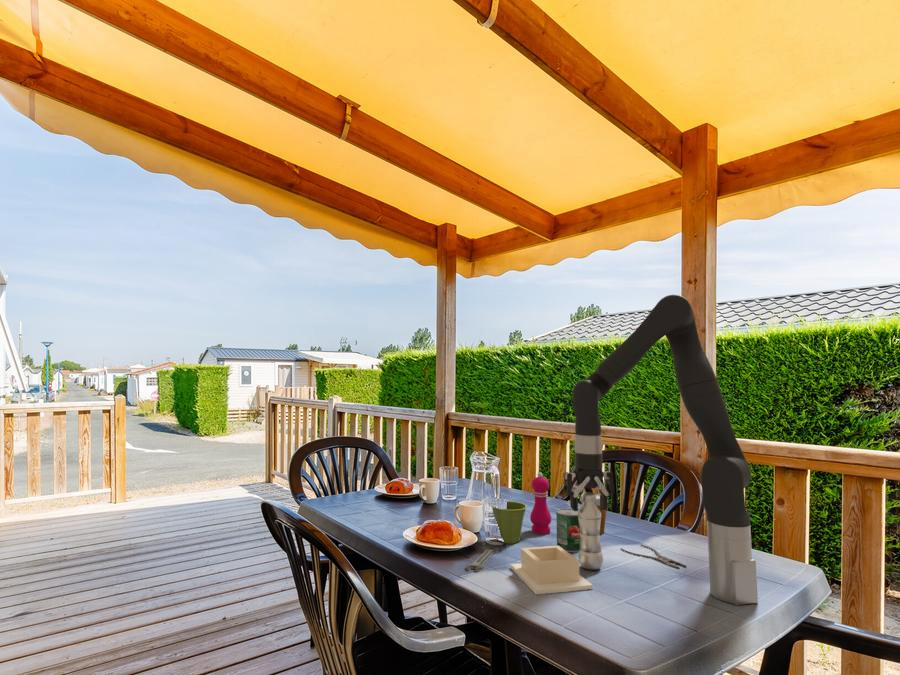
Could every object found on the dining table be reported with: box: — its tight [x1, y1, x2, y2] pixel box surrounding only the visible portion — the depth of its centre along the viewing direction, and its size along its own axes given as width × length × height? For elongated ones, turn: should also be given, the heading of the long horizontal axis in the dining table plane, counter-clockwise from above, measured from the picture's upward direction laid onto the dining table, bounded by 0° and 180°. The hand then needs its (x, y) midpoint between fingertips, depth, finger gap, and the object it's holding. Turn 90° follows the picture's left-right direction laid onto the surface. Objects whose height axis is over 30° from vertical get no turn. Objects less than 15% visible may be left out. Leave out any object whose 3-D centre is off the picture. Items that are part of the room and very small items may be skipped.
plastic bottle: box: [578, 492, 604, 571], centre depth 138 cm, size 6×7×20 cm
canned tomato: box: [555, 508, 580, 553], centre depth 154 cm, size 8×8×11 cm
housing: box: [510, 545, 593, 595], centre depth 130 cm, size 18×15×6 cm
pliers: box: [620, 544, 687, 570], centre depth 147 cm, size 10×1×20 cm
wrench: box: [466, 545, 500, 573], centre depth 144 cm, size 5×20×1 cm, turn 159°
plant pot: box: [490, 500, 528, 545], centre depth 162 cm, size 12×12×11 cm
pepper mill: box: [529, 472, 552, 535], centre depth 172 cm, size 7×7×20 cm
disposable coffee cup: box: [579, 493, 607, 535], centre depth 172 cm, size 10×10×12 cm
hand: (589, 510), depth 139 cm, fingers open, 8 cm apart
